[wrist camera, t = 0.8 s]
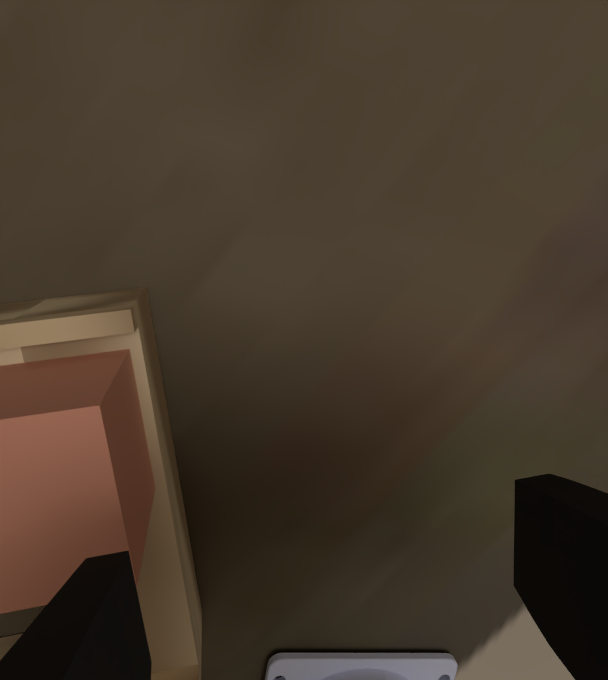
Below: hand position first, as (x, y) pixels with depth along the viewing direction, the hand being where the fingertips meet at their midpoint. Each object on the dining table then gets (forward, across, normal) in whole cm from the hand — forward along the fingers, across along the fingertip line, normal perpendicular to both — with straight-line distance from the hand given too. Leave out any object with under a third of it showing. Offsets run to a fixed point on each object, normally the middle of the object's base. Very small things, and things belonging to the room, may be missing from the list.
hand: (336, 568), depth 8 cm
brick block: (+7, +6, 0) cm, 9 cm away
